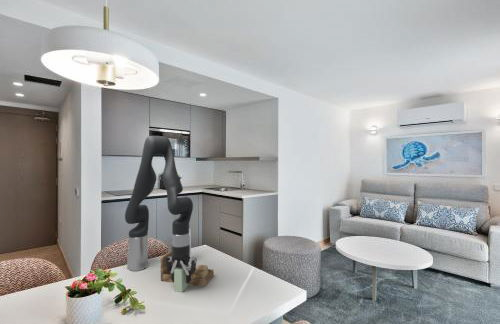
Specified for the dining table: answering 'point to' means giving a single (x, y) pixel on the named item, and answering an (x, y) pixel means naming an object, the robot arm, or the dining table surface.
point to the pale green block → (179, 280)
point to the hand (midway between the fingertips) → (181, 281)
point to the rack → (194, 281)
